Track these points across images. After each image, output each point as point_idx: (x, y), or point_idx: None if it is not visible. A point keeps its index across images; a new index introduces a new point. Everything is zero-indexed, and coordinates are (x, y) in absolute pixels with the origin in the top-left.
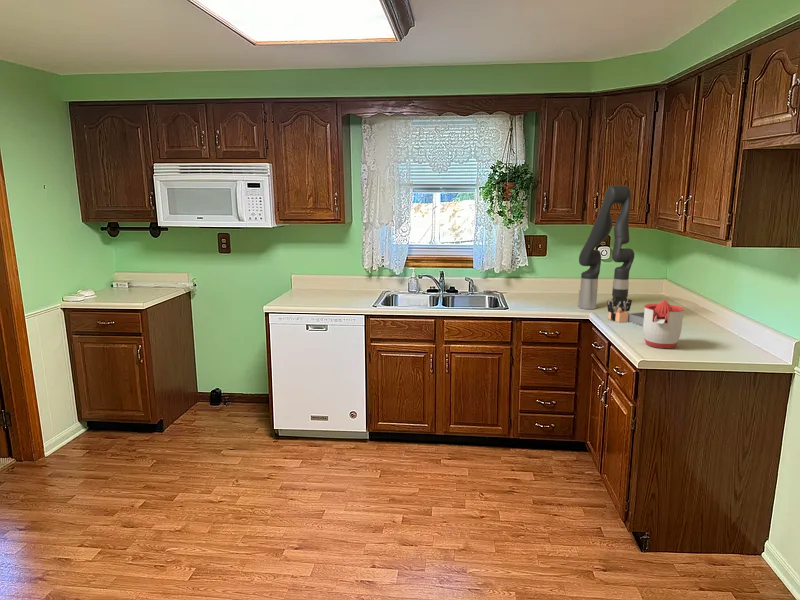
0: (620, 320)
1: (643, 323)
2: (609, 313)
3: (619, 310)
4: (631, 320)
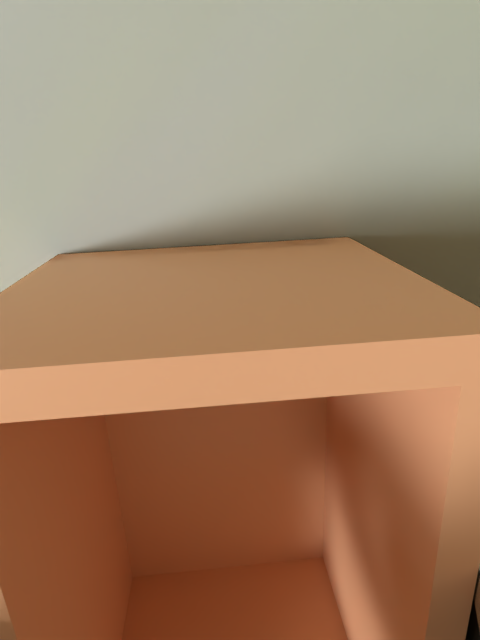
0: (145, 614)
1: None
2: None
3: (436, 494)
4: None
